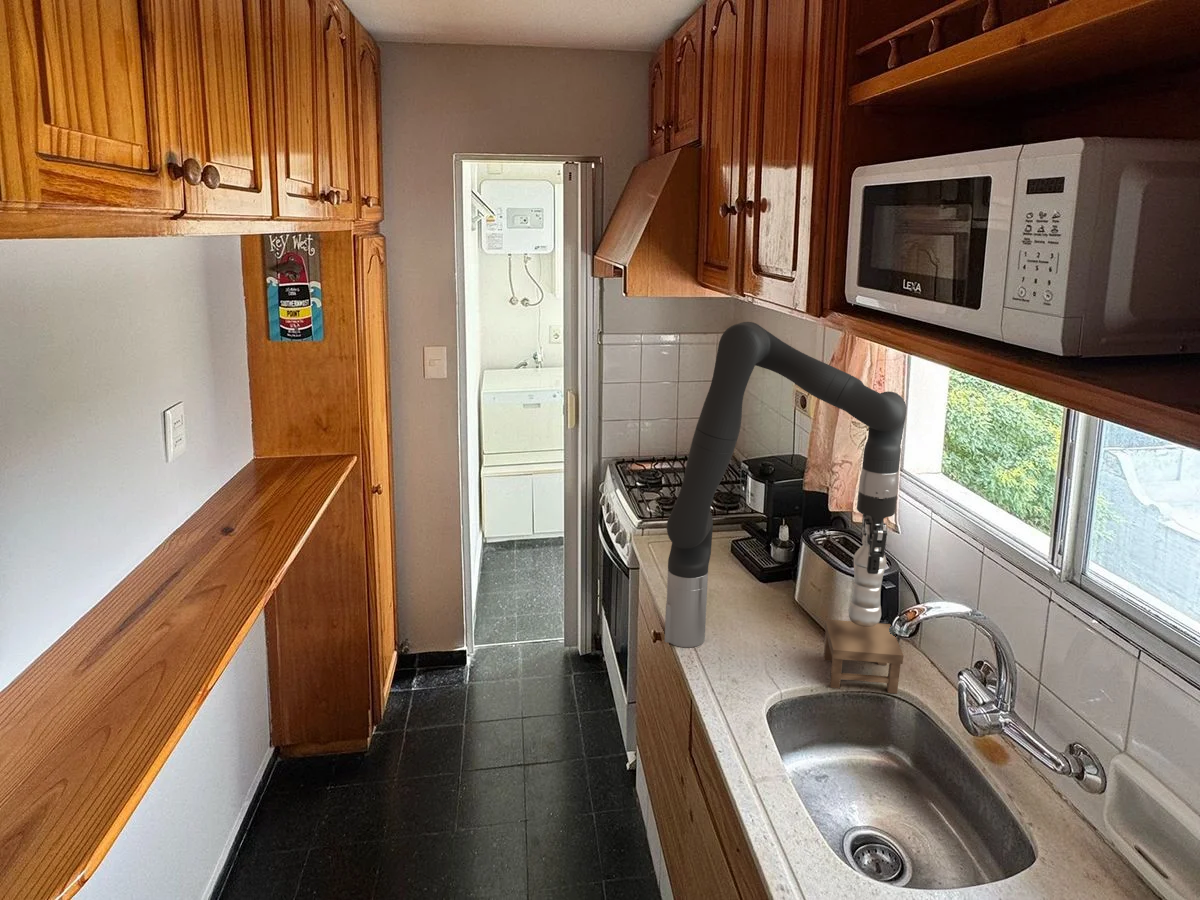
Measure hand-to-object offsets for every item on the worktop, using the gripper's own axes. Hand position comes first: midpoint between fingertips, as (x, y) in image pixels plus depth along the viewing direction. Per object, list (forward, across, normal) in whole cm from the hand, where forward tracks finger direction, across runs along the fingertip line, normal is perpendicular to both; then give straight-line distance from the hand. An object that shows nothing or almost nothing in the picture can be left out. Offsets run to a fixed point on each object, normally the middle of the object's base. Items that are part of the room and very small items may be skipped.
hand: (869, 566), depth 173 cm
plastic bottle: (+13, 0, 0) cm, 13 cm away
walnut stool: (+25, 0, 0) cm, 25 cm away
